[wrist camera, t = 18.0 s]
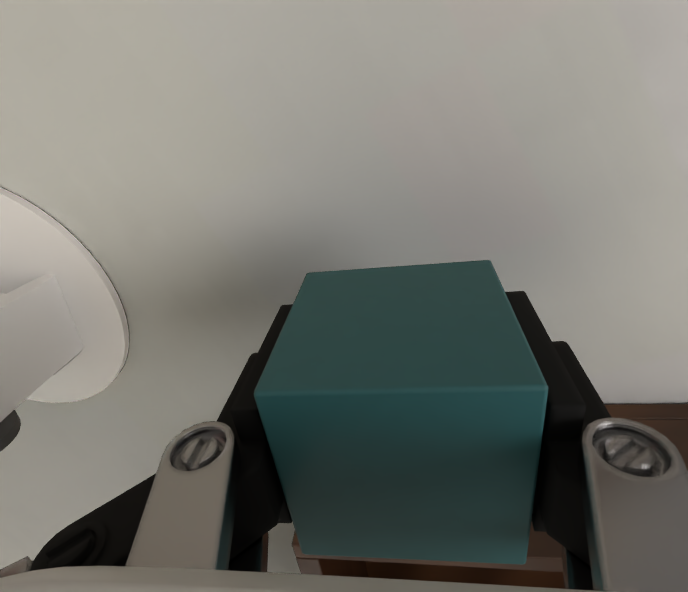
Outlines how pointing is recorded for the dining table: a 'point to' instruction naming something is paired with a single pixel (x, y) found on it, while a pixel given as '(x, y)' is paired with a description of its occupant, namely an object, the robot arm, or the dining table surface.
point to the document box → (543, 551)
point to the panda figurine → (52, 315)
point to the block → (406, 415)
